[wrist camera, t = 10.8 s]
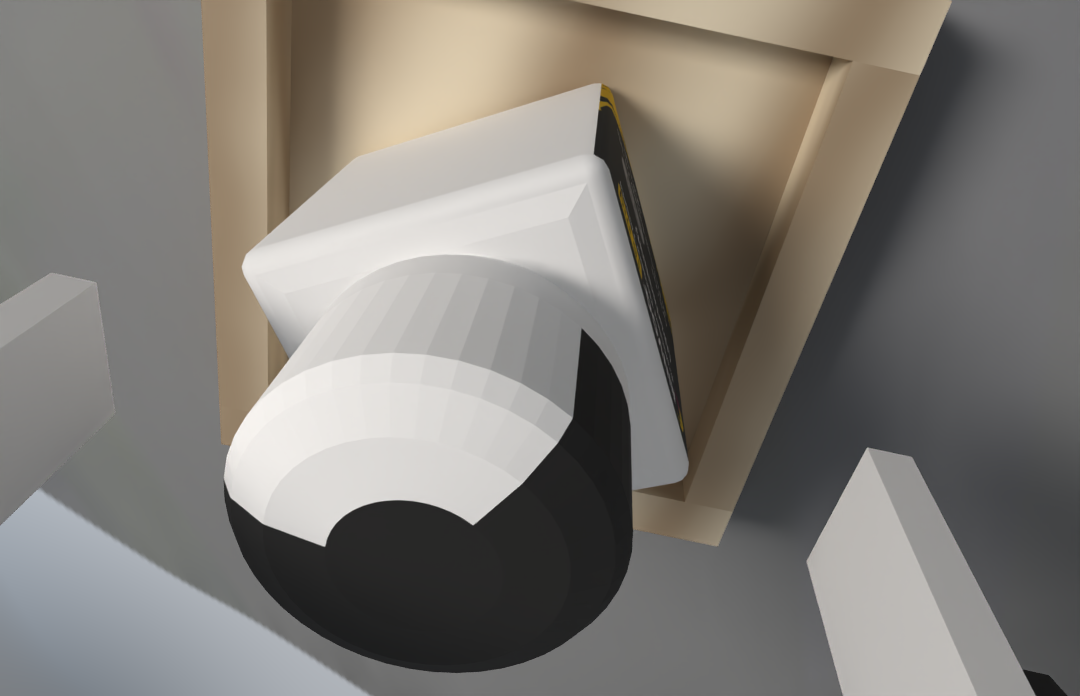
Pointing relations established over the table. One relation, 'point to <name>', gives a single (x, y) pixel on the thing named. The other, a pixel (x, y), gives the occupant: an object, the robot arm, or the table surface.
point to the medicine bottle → (460, 392)
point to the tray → (653, 148)
